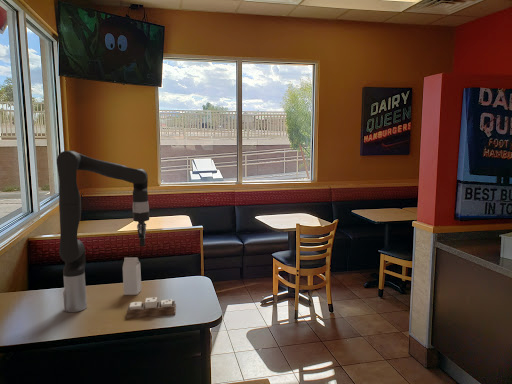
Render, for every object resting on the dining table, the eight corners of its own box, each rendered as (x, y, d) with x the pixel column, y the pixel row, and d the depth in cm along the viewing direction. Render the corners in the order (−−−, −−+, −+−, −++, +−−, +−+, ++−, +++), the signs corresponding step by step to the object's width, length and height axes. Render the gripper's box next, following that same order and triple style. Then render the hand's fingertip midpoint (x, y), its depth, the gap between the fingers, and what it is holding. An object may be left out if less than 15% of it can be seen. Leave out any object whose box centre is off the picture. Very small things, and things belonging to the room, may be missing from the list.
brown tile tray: (125, 318, 180) (125, 311, 179) (128, 309, 189) (128, 303, 189) (175, 314, 183) (175, 307, 183) (176, 305, 193) (175, 299, 193)
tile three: (161, 310, 185) (160, 304, 184) (161, 306, 189) (161, 299, 189) (172, 309, 185) (171, 303, 185) (172, 305, 190) (172, 299, 190)
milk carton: (137, 295, 207) (135, 259, 205) (123, 295, 207) (121, 259, 205) (141, 290, 214) (139, 255, 212) (128, 290, 214) (126, 255, 212)
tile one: (129, 313, 182) (129, 306, 182) (131, 308, 187) (130, 302, 187) (141, 312, 183) (140, 305, 183) (142, 307, 188) (141, 301, 188)
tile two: (145, 308, 183) (145, 301, 183) (146, 304, 188) (146, 297, 188) (156, 307, 184) (156, 301, 184) (157, 303, 189) (157, 296, 188)
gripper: (134, 208, 197) (136, 243, 199) (130, 213, 184) (132, 250, 186) (150, 208, 198) (151, 242, 200) (147, 212, 185) (149, 249, 187)
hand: (142, 245), depth 193 cm, fingers closed
